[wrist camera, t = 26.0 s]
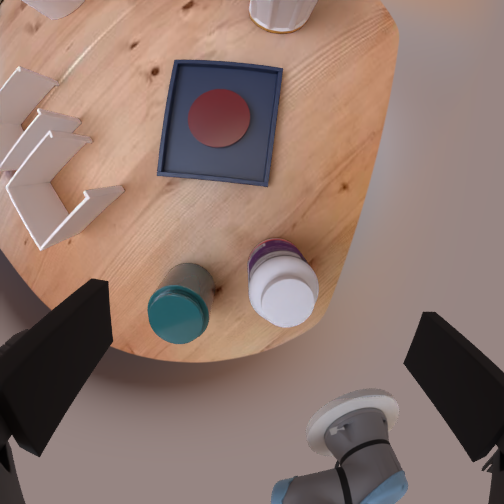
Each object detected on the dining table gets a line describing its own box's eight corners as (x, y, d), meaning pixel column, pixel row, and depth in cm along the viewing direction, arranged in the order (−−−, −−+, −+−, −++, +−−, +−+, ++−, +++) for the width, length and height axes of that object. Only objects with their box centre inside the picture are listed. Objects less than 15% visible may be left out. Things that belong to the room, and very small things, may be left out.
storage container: (18, 125, 35) (-22, 120, 25) (57, 80, 34) (19, 65, 23) (79, 233, 41) (40, 251, 31) (125, 191, 40) (89, 197, 29)
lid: (247, 89, 36) (247, 85, 34) (253, 144, 38) (254, 143, 37) (187, 97, 36) (185, 93, 34) (193, 152, 38) (190, 151, 37)
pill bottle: (297, 289, 45) (319, 339, 31) (245, 286, 44) (246, 337, 30) (304, 238, 42) (332, 269, 29) (249, 234, 42) (252, 264, 28)
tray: (266, 186, 40) (267, 186, 38) (160, 175, 40) (156, 175, 38) (281, 72, 36) (283, 68, 34) (177, 64, 35) (174, 59, 33)
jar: (213, 314, 45) (205, 352, 35) (164, 307, 45) (144, 342, 35) (217, 266, 43) (209, 294, 33) (165, 259, 43) (143, 285, 33)
